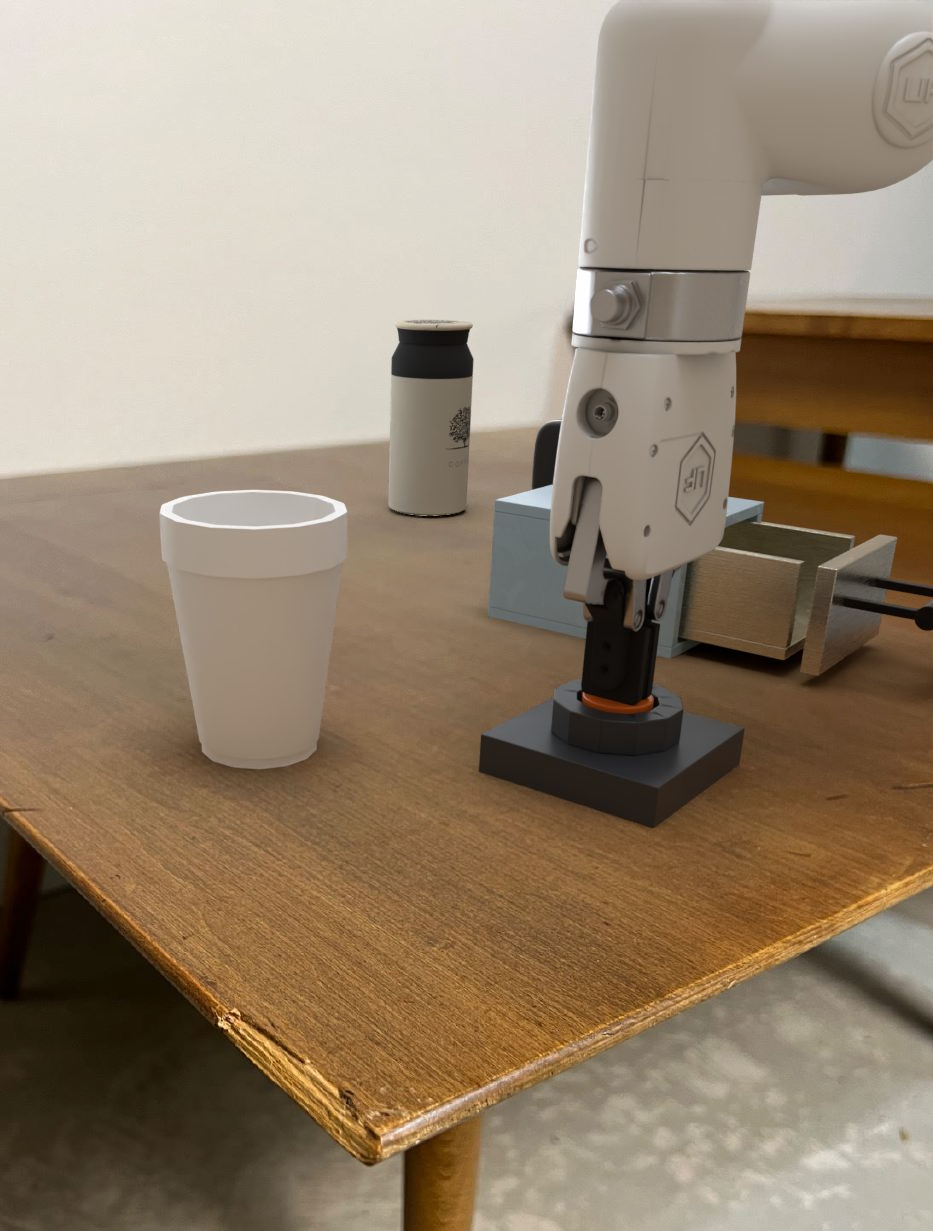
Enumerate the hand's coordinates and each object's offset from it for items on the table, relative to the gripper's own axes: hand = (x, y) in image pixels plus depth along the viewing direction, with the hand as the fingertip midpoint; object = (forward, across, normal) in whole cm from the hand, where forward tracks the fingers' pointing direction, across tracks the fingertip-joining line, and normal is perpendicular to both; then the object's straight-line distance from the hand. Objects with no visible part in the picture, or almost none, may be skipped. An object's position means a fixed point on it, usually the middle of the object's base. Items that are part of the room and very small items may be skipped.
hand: (615, 694), depth 61 cm
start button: (+2, 0, 0) cm, 2 cm away
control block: (+4, 0, 0) cm, 4 cm away
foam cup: (+4, -10, +16) cm, 19 cm away
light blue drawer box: (+4, +25, +13) cm, 29 cm away
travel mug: (+4, +46, +46) cm, 65 cm away
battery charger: (+4, +40, +26) cm, 48 cm away
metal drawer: (+3, +25, 0) cm, 25 cm away
